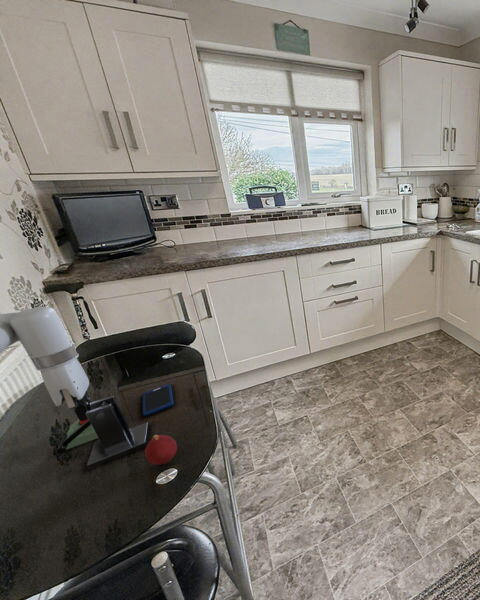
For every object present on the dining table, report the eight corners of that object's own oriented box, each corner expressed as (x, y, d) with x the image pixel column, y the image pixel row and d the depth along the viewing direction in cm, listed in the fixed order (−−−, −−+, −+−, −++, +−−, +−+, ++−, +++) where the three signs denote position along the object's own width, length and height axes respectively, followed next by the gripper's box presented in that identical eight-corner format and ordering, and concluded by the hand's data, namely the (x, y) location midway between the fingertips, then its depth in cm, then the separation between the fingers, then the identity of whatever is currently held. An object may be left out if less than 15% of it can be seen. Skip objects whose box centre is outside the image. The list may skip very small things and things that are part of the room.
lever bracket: (88, 469, 75) (63, 425, 70) (96, 445, 82) (74, 404, 78) (146, 446, 80) (126, 404, 76) (149, 425, 87) (131, 386, 83)
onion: (151, 462, 75) (137, 435, 72) (179, 448, 78) (168, 421, 76) (153, 477, 71) (139, 449, 68) (183, 462, 74) (171, 434, 71)
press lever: (63, 455, 73) (51, 451, 72) (69, 442, 77) (58, 437, 76) (111, 413, 76) (101, 408, 75) (115, 403, 80) (105, 398, 79)
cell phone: (171, 385, 105) (170, 383, 105) (174, 405, 95) (173, 403, 94) (143, 395, 101) (142, 393, 101) (143, 417, 91) (142, 415, 90)
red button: (80, 429, 84) (77, 424, 83) (83, 422, 87) (80, 416, 86) (98, 423, 86) (95, 418, 85) (100, 416, 89) (98, 411, 88)
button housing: (66, 449, 82) (59, 437, 80) (74, 431, 88) (68, 419, 87) (116, 431, 87) (110, 419, 85) (120, 415, 93) (115, 403, 92)
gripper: (44, 350, 83) (77, 408, 90) (22, 376, 71) (61, 441, 78) (83, 341, 87) (111, 397, 94) (67, 363, 75) (101, 426, 82)
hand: (88, 417), depth 86 cm, fingers closed
